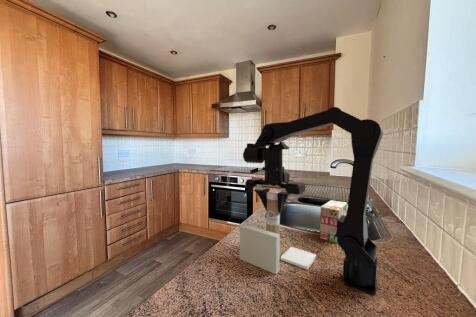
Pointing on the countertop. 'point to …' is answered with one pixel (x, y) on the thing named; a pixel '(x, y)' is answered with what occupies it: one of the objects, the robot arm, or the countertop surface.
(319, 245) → the countertop surface
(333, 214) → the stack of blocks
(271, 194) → the seasoning jar
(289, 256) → the tile pad
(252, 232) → the pale green board
